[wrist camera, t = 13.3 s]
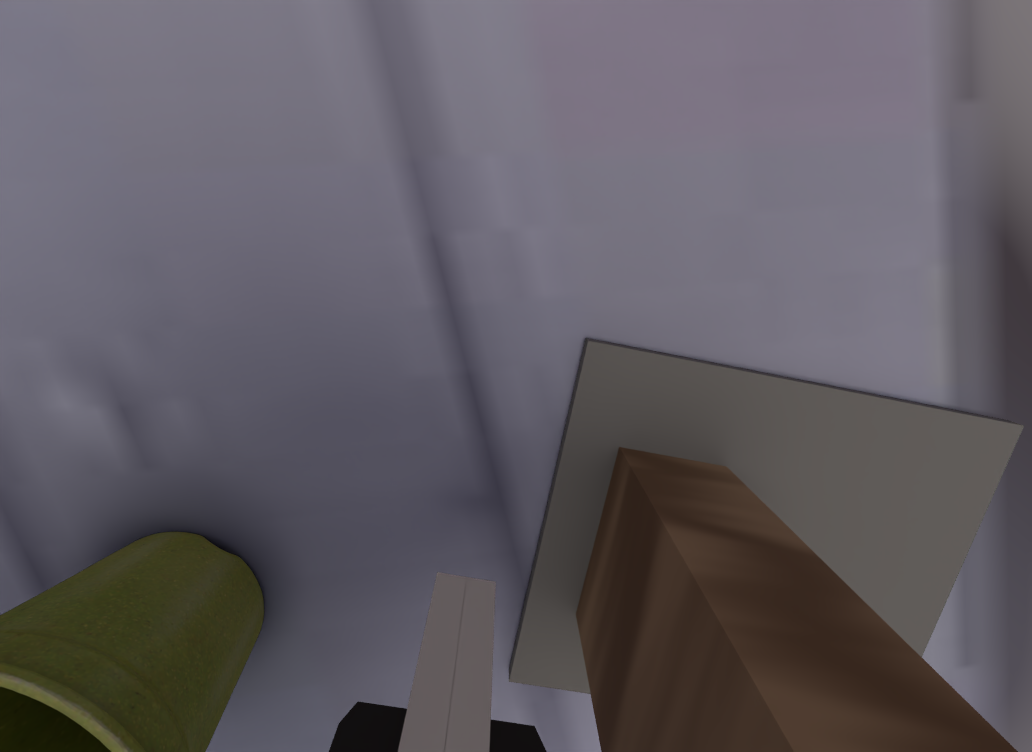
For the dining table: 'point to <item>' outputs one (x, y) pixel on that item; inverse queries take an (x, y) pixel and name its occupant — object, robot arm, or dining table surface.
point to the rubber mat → (768, 484)
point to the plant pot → (130, 651)
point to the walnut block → (743, 632)
